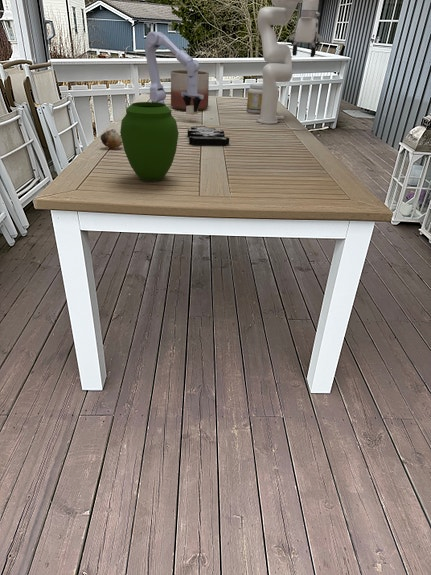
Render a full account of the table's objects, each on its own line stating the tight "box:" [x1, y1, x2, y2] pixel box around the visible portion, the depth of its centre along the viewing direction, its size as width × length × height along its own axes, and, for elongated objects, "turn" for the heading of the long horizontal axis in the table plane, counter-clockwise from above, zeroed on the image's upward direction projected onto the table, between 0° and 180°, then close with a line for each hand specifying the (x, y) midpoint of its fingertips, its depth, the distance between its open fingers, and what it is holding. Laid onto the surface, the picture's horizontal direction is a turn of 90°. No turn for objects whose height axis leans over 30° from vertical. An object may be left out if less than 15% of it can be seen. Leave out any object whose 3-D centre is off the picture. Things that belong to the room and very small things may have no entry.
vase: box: [119, 101, 179, 182], centre depth 140 cm, size 20×20×24 cm
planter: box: [170, 69, 210, 112], centre depth 273 cm, size 25×25×22 cm
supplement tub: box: [246, 83, 263, 114], centre depth 274 cm, size 12×12×17 cm
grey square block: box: [185, 105, 199, 116], centre depth 235 cm, size 5×5×4 cm
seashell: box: [100, 128, 123, 149], centre depth 178 cm, size 10×6×8 cm, turn 91°
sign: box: [187, 125, 230, 147], centre depth 203 cm, size 19×3×30 cm
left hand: (192, 111), depth 235 cm, fingers closed on grey square block, 4 cm apart
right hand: (303, 56), depth 205 cm, fingers open, 9 cm apart
